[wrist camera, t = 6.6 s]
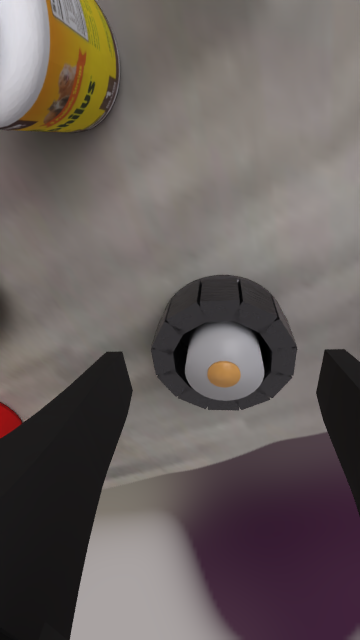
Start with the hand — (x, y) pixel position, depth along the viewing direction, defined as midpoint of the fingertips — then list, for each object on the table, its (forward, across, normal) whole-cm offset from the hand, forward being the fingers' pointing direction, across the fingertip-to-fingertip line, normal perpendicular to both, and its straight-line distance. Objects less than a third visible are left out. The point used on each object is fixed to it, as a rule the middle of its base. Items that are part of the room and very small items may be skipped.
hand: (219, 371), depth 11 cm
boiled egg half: (+9, 0, +5) cm, 11 cm away
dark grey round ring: (+10, 0, +5) cm, 11 cm away
